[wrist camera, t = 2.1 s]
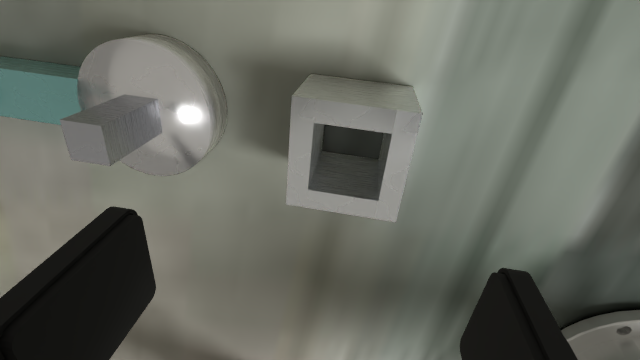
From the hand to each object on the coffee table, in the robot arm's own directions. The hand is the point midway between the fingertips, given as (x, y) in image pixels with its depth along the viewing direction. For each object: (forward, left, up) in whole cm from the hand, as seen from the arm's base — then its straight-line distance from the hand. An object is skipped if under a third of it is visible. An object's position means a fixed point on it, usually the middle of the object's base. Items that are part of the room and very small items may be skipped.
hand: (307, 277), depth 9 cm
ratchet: (+16, 0, -13) cm, 20 cm away
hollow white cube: (0, 0, -13) cm, 13 cm away
